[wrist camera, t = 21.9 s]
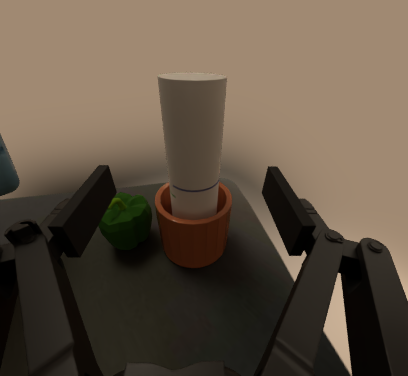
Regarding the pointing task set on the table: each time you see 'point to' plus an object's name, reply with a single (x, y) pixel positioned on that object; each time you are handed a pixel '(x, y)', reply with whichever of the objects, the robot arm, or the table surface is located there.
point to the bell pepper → (126, 221)
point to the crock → (193, 231)
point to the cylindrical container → (193, 140)
